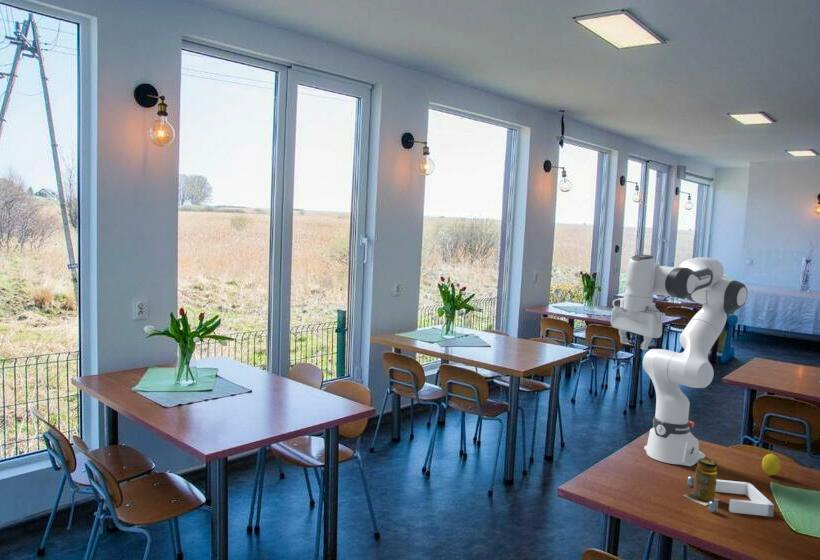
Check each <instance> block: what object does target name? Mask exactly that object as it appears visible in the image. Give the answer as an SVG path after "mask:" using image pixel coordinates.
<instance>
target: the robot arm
mask: <svg viewBox="0 0 820 560" xmlns="http://www.w3.org/2000/svg"><path fill="white" fill-rule="evenodd" d="M724 271H725V270H724V266H723V264H722V263H721V262H720V261H719V260H718V259H715V258H713V257H706V256H705V257H704V256H701V257H700V256H699V257H693V258H687V259H686V260H684V261H682V262H681V263H680V264H679V265H678V267H677V266H676V267H675V266H667V265H660V264H658V263H657V262H656V260H655V257H654V256H653V255H651V254H649V255H648V254H637V255H633V256H631V257H630V259H629V260H628V263H627V268H626V274H625V291H624V295H623V297H621V298H617V299H613V300H612V306H613V308H612V309H611V314H610V315H611V317H610V325H611V327H612V328H614V329H618V334H619V337H620V339H619V340H620V341H619V342H620V344H624V345H626V344H628V340H629V338H627V335H626V333H627V332H629V333H633V334H637V335H640V336H643V342H642V343H640V349H641V350H644V351H646V353H645V354H644V356H643V359H642V368H643V370H644V372H645V373H646V374H647V375H648V376H649V378H650V379H651V382H652V384H653V385H652V386H653V387H654V391H655V398H656V400H655V401H656V402H655V415H654V416H653V419H652V428H650V430H649V434H648V438H647V439H648V440H647V444H646V445H644V448H643V449H644V450H645V452H646V455H647V456H648V457H649V458H651V459H653V460H656V461H658V462H661V463H666V464H672V465H681V466H687V467H693V466H695V465H696V464H698V460H699V459H702V458H704V459H706V454H705V453H703V452H702V451H700V450H699V449H700V442H699V440H698V438H696V437H695V435H693V433H692V432H691V429H690V428H694V426H695V422H694V421H691V420H689V413H690V403H691V402H690V400H689V398H688V397H687V395H685V394H684V392H683V391H682V389H681V387H680V385H682V386H685V387H688V388H696V389H705V388H707V387H708V386H709V385H710V384H711V383H712V381H713V379H714V373H715V372H714V368H713V365H712V363H711V362H710V360H709V353H710V350H711V349H712V347H713V346H714V345H715V343H716V341H717V340H718V338H719V337H720V335H721V333H722V331H723V330H724V328H725V325H726V322H727V319H728V316H727V315H733V313H735V312H736V311H738V310H739V309H740V308H742V307H743V306H744V305H745V304H746V301H747V298H748V288H747V287H746V284H744V283H742V282H741V281H738V280H736V279H733V280H732V279H729V278H725V277H723V276H724V274H725V273H724ZM654 295H658V296H664V297H673V298H676V299H681V300H685V299H686V300H688V301H690V302H693V303H698V304H702V307H701V308H700V309H699V310H698V311H697V312H696V313H695V314H694V316H692V318H691V319H690V320H689V322H688V323H687V324H686V326H685V328H684V329H683V330H682V332H681V333H680V334H679V344H680V346H681V347H682V348H683V351H682V352H678V351H674V350H669V349H665V348H650V349H649V345H650V343H651V341H652V340H653V339H660V338H661V336H662V334H663V318H662V312H661V311H660V310H659V309H658V308H656V307H655V308H654V307H653V303H654V301H653V300H654ZM648 349H649V350H648ZM647 350H648V351H647Z"/></svg>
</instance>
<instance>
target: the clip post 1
mask: <svg viewBox="0 0 820 560" xmlns="http://www.w3.org/2000/svg"><path fill="white" fill-rule="evenodd" d="M694 480H695V475H694V476H693V475H688V476H687V482H686V483H687V484H686V485H687V487H689V488H692V489H694Z"/></svg>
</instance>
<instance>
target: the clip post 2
mask: <svg viewBox="0 0 820 560" xmlns="http://www.w3.org/2000/svg"><path fill="white" fill-rule="evenodd" d="M718 509H719V501H717V502H716V501H713V500H710V501H709V504H708V509H707V510H708V512H709V513H710V514H715V515H716V514H718Z"/></svg>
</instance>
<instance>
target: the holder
mask: <svg viewBox="0 0 820 560" xmlns="http://www.w3.org/2000/svg"><path fill="white" fill-rule="evenodd" d="M716 492H717V493H724V494H725V493H727V494H735V495H745V496H747V497H748V498H749V500H745V499H736V498H729V501H728V502H729V504H728V511H729V513H734V514H744V515H751V516H752V515H754V516H762V517H772V518H773V517H774V514H775V505H774V503H773V502H771V500H770V499H768V498H767V497H766V496H765V495H764V494H763V493H762V492H760V491H759V489H757V488H756V487H755V485H754V484H752V483H751V482H748V481H747V482H746V481H736V480H735V481H734V480H728V479H727V480H725V479H718V478H717V480H716V489H715V493H716Z"/></svg>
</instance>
